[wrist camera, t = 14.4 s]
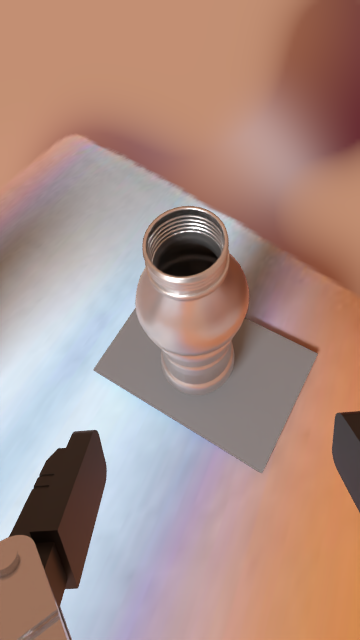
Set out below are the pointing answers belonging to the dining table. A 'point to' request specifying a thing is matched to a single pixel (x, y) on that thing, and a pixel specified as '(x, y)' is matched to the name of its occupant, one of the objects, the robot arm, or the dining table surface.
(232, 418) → the grey rubber mat
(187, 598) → the dining table surface
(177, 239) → the plastic bottle
